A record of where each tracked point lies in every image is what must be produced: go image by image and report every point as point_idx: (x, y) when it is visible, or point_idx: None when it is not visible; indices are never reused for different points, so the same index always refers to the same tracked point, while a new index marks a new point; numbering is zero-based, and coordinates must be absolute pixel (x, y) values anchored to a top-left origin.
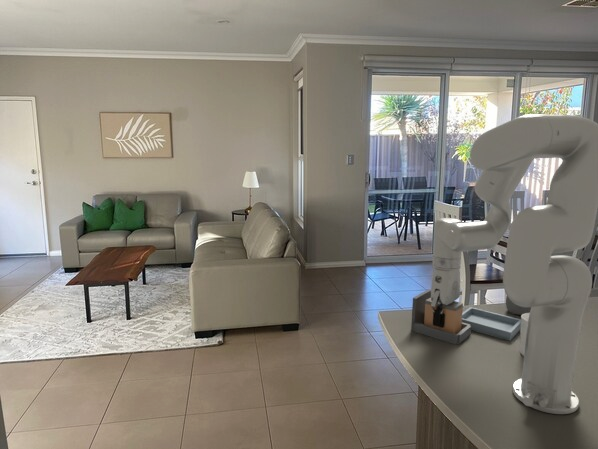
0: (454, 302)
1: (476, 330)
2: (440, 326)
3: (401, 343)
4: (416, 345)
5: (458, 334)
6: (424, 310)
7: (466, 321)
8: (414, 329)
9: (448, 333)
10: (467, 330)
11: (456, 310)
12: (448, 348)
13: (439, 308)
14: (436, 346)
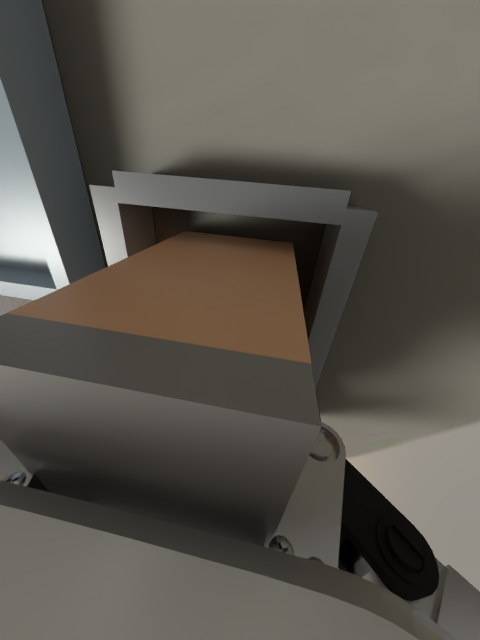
0: (57, 453)
1: (73, 154)
2: None
3: (449, 421)
4: (452, 375)
5: (341, 208)
6: None
7: (60, 236)
8: None
9: (353, 281)
10: (189, 177)
11: (278, 363)
12: (442, 231)
13: (400, 547)
14: (433, 298)
